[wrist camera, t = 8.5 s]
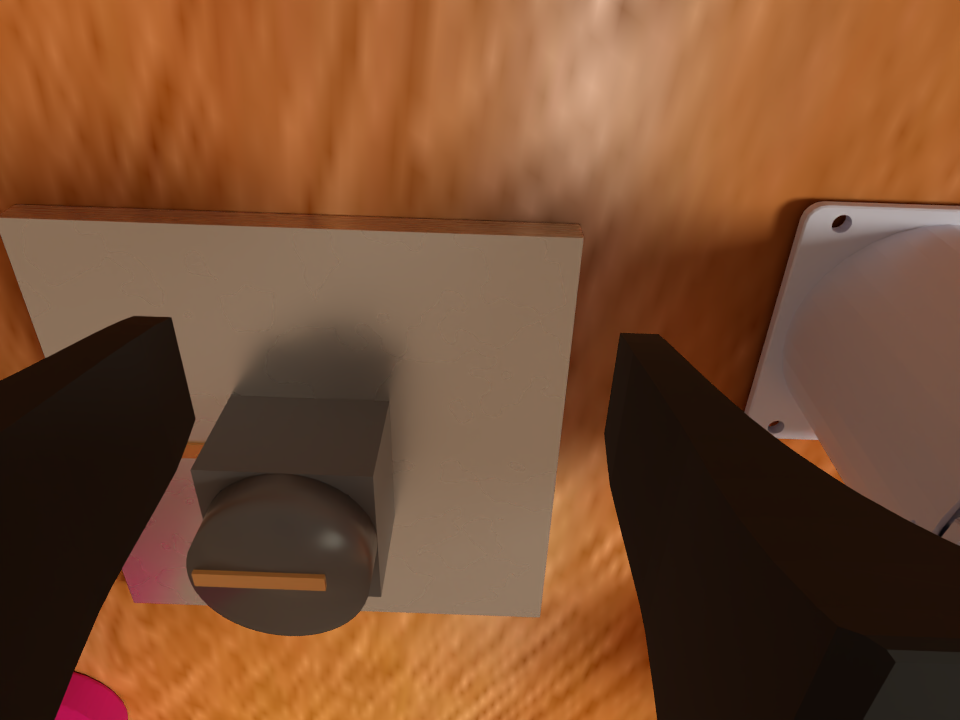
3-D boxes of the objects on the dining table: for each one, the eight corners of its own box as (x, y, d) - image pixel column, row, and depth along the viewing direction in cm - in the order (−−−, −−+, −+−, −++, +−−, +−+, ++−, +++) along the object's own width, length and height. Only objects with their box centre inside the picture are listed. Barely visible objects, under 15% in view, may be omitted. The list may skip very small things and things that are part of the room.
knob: (389, 401, 22) (363, 521, 18) (395, 515, 25) (373, 643, 21) (231, 395, 22) (166, 513, 18) (253, 510, 25) (202, 637, 21)
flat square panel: (580, 223, 20) (594, 279, 17) (538, 596, 29) (543, 675, 26) (15, 204, 20) (-68, 256, 17) (144, 582, 29) (104, 659, 26)
